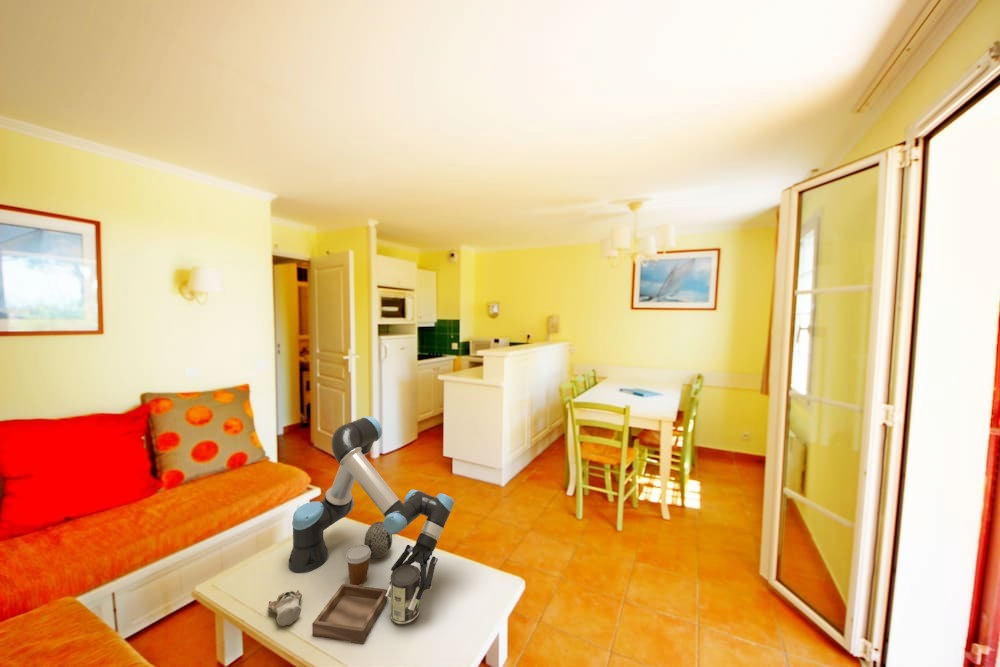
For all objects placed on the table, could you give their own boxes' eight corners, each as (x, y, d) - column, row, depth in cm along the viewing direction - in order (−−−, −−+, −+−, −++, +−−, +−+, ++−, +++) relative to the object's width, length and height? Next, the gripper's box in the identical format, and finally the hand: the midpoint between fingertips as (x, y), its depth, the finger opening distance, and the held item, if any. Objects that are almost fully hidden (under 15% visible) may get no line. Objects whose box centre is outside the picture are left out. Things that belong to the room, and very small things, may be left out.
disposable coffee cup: (362, 590, 142) (362, 561, 141) (340, 586, 143) (340, 557, 143) (375, 573, 151) (375, 545, 150) (355, 569, 153) (354, 542, 152)
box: (342, 594, 139) (342, 583, 139) (387, 600, 137) (387, 589, 137) (312, 636, 122) (312, 623, 121) (363, 644, 119) (363, 631, 119)
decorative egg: (382, 567, 155) (382, 533, 154) (358, 561, 158) (358, 528, 157) (397, 550, 166) (397, 518, 165) (375, 544, 169) (375, 513, 168)
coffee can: (420, 598, 137) (421, 563, 136) (418, 622, 127) (419, 584, 126) (392, 601, 135) (392, 565, 134) (388, 625, 125) (388, 586, 124)
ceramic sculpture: (271, 611, 121) (266, 586, 132) (272, 637, 121) (267, 610, 133) (307, 596, 127) (299, 574, 139) (308, 621, 127) (300, 596, 139)
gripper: (457, 549, 137) (429, 618, 125) (411, 529, 148) (381, 592, 136) (449, 543, 132) (418, 615, 120) (402, 523, 143) (370, 587, 131)
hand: (399, 603), depth 128 cm, fingers closed on coffee can, 10 cm apart
